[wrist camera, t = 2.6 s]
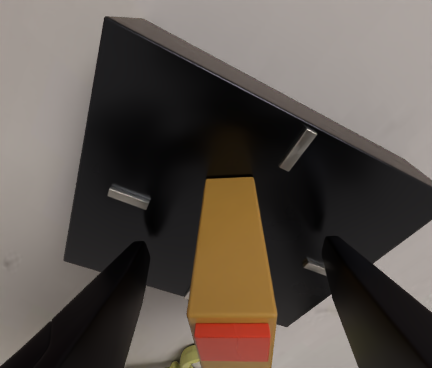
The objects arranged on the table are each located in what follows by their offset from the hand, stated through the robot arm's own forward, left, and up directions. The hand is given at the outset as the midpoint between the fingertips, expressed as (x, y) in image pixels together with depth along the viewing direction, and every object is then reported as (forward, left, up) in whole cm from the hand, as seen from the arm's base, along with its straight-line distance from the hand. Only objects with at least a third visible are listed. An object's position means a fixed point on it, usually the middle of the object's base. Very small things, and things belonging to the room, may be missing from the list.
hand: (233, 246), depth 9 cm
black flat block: (0, 0, -4) cm, 4 cm away
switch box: (0, 0, 0) cm, 0 cm away
